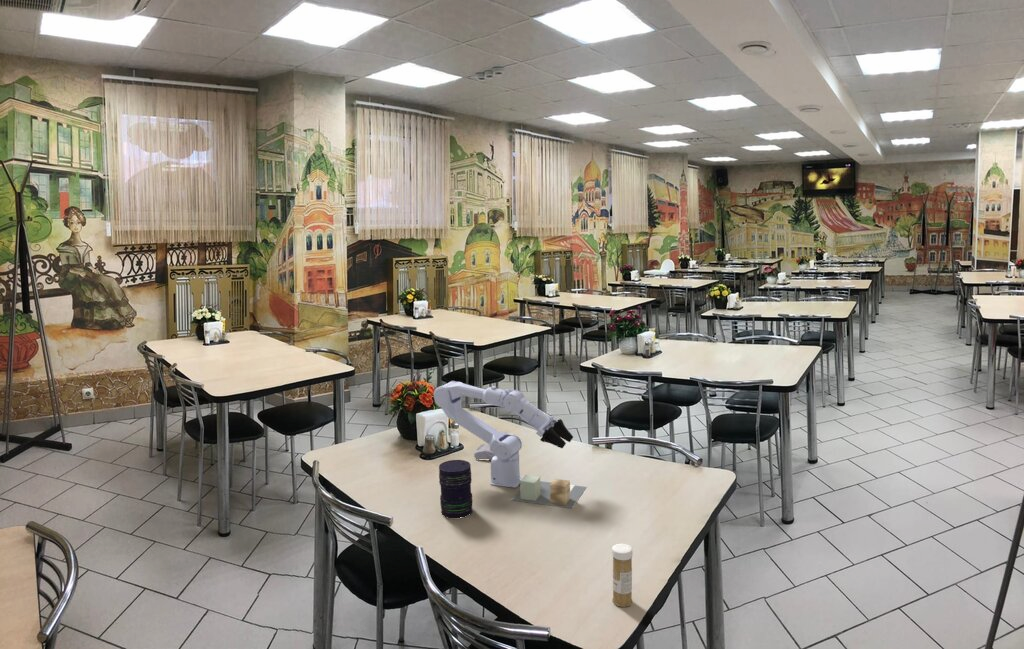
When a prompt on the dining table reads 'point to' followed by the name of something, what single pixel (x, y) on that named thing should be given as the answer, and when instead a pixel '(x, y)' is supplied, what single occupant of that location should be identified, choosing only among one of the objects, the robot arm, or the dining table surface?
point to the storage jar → (455, 488)
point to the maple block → (560, 491)
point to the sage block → (530, 487)
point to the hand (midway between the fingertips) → (567, 442)
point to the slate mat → (545, 495)
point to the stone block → (484, 452)
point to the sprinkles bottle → (622, 575)
